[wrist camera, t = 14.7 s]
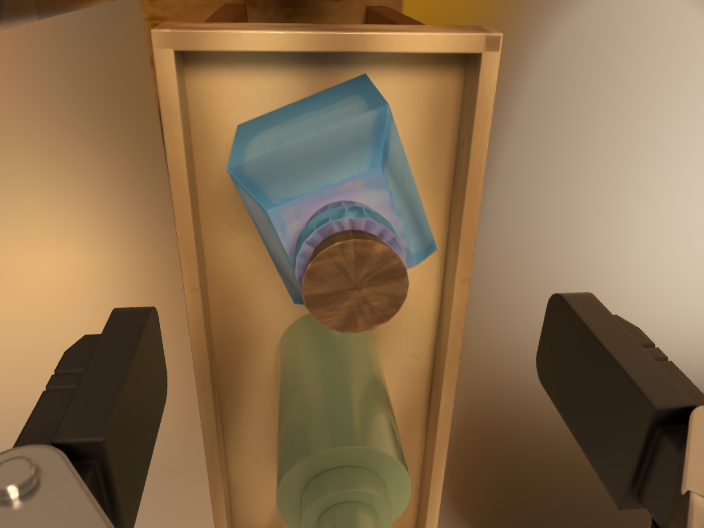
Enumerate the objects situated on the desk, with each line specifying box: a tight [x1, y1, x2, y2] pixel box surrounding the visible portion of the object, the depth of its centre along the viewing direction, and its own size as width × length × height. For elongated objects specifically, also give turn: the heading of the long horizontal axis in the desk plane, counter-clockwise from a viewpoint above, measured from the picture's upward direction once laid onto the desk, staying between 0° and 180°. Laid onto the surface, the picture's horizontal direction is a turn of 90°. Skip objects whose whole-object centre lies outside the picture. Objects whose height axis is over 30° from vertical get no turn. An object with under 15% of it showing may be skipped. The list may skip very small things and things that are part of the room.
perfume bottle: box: [227, 73, 438, 333], centre depth 22 cm, size 6×6×12 cm
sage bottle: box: [276, 314, 412, 528], centre depth 27 cm, size 6×6×14 cm
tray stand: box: [150, 4, 503, 528], centre depth 42 cm, size 14×34×25 cm, turn 179°
